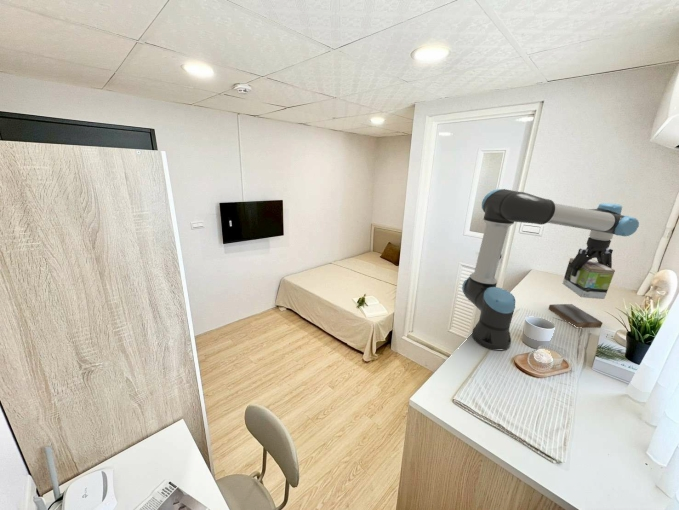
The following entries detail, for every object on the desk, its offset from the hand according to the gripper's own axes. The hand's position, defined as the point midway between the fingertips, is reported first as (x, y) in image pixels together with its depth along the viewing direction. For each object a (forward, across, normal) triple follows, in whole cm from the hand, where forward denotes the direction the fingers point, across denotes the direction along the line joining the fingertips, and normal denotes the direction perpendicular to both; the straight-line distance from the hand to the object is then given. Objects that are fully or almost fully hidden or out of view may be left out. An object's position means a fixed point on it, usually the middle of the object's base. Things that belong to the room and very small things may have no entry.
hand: (585, 282), depth 125 cm
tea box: (+5, 0, 0) cm, 5 cm away
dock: (+20, 0, 0) cm, 20 cm away
